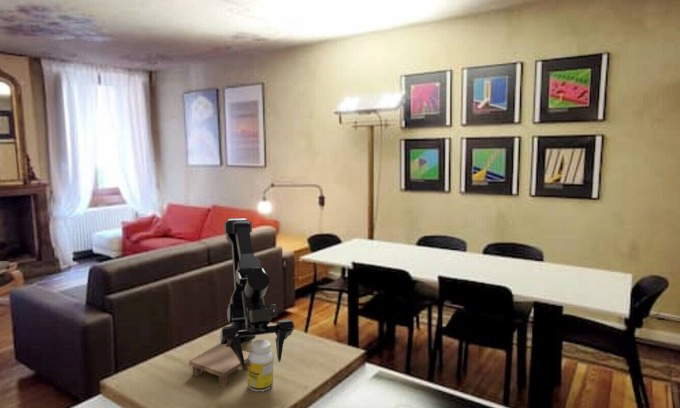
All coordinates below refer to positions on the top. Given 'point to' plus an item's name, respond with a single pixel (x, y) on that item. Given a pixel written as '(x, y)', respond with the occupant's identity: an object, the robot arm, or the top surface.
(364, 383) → the top surface
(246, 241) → the robot arm
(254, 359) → the pill bottle
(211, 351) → the small wooden stand
